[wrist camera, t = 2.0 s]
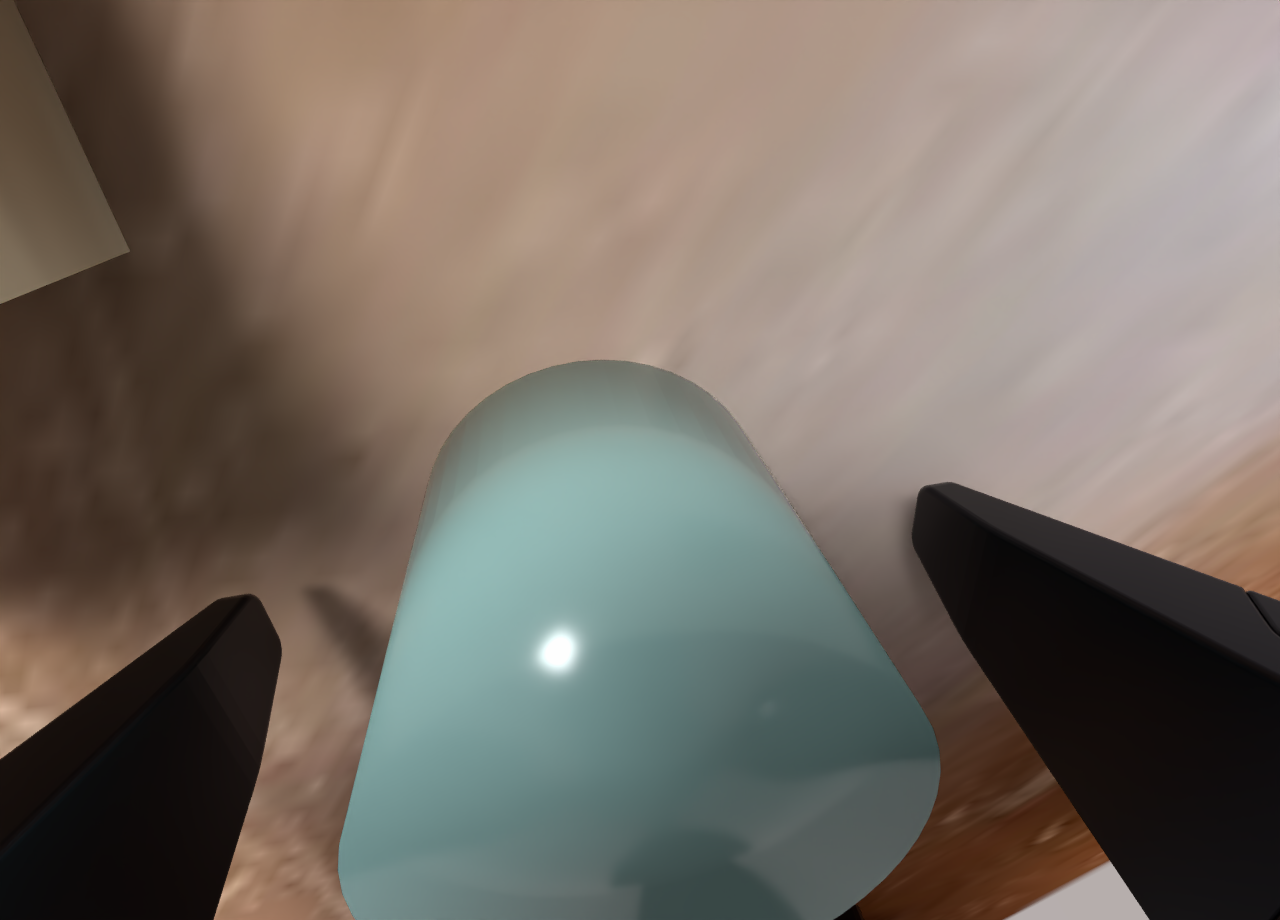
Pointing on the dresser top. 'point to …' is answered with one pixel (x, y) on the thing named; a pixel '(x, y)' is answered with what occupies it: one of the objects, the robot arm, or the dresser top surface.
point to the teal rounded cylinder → (626, 681)
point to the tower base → (43, 177)
